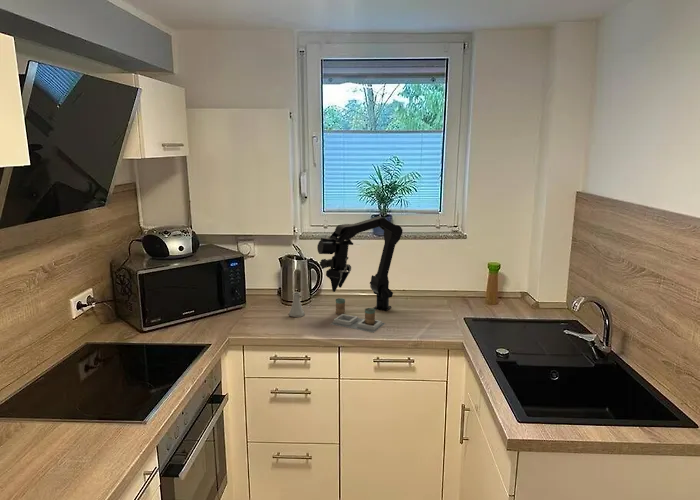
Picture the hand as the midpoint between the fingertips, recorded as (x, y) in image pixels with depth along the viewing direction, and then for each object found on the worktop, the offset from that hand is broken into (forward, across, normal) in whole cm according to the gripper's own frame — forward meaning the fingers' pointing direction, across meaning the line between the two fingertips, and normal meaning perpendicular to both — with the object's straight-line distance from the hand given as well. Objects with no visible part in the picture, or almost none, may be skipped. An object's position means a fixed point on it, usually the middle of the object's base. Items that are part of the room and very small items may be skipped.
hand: (336, 289), depth 221 cm
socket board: (+12, +8, +13) cm, 20 cm away
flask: (+14, +2, -16) cm, 22 cm away
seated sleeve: (+10, +10, +18) cm, 23 cm away
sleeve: (+12, -3, +2) cm, 12 cm away
